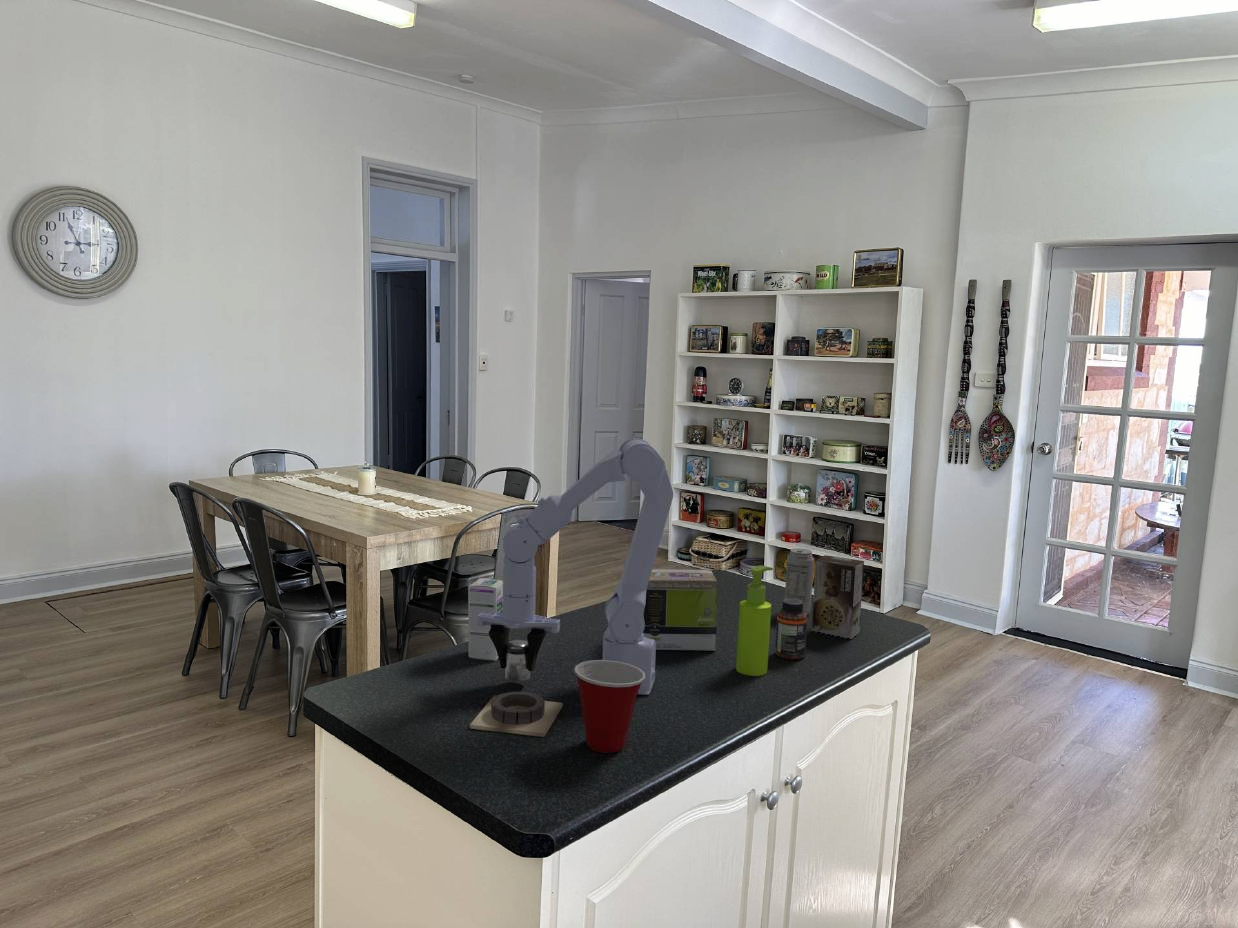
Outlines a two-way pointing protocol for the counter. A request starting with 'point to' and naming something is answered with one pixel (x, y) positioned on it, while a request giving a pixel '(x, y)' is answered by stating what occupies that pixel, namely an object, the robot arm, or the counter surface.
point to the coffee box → (837, 596)
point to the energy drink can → (800, 577)
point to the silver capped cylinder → (516, 660)
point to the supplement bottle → (791, 630)
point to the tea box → (681, 609)
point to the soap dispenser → (754, 627)
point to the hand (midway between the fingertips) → (517, 667)
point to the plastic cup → (607, 701)
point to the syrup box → (483, 600)
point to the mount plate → (517, 729)
